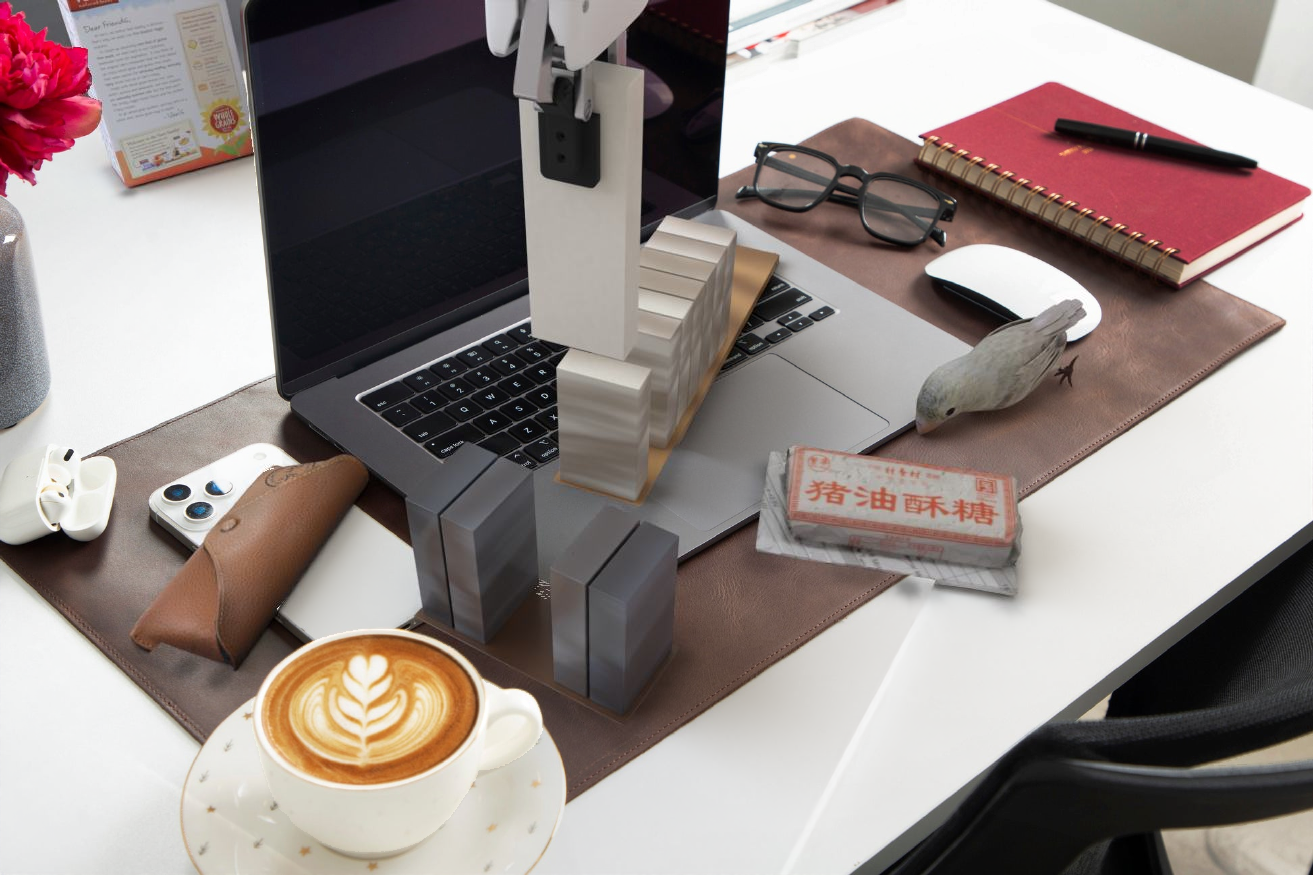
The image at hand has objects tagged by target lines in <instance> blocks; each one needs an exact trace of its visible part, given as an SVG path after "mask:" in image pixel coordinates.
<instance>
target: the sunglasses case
mask: <svg viewBox="0 0 1313 875" xmlns="http://www.w3.org/2000/svg"><path fill="white" fill-rule="evenodd" d="M270 468H274V469H271V470H270ZM267 469H269V470H267ZM267 469H266V470H267V471H265V470H264V471H265V472H264V471H263V472H261V474H260V475H259V476H258V477H256V479H255V480H254V481H253V482H252V484H250V485H249V486H248V488H247V489H245V491H244V492H243V493H242V494H241V496H240V497H239V498H238V499H237V501H235V503H234V504H233V505H232V507H231V508H230V509H229V510H228V511H227V512H226V514H224V515H223V516H222V517H221V518H220V519H219V520H218V521H217V522H216V524H215V525H213V526H212V528H211V529H210V530H209V531H208V532H207V534H206V535H205V537H204V539H203V542H202V543H201V544H200V545H199V546H198V547H197V549H196V550H195V551H194V552H193V554H191V556H190V557H189V558H188V560H187V561H185V563H184V564H183V565H182V566H181V568H180V569H179V570H178V571H177V572H176V573H175V575H174V576H173V577H172V578H171V579H170V581H168V583H167V584H166V585H165V586H164V588H163V589H162V590H161V591H160V592H159V594H158V595H157V596H156V598H155V599H154V600H153V601H152V602H151V603H150V604H149V605H148V607H147V608H146V609H145V611H144V612H143V613H142V615H141V616H140V617H139V618H138V620H136V622H135V624H134V626H133V627H132V629H131V631H130V633H129V636H128V637H129V638H130V640H131V641H132V642H133V644H134V645H135V646H137V647H139V648H141V649H143V650H146V651H148V652H152V651H154V650H155V649H156V648H157V647H158V646H159V645H160V644H161V643H162V644H164V645H168V646H170V647H173V648H175V649H178V650H180V651H185V652H187V653H189V654H192V655H195V656H198V657H201V658H206V659H208V660H211V661H213V662H217V663H219V664H222V665H223V664H224V665H229V666H232V667H233V672H236V671H237V670H239V668H240V666H241V665H242V664H243V662H244V661H245V660H246V659H247V657H249V655H250V654H251V652H252V651H253V649H254V648H255V646H256V644H257V643H258V642H259V640H260V639H261V638H262V636H263V634H264V633H265V631H266V630H267V628H268V627H269V625H270V623H271V621H273V619H274V617H275V616H276V614H277V613H278V611H277V608H278V607H279V606H280V605H281V604H282V602H283V601H284V600H285V601H286V599H287V598H288V596H289V595H290V593H291V592H292V590H293V588H294V587H295V586H296V585H297V583H298V582H299V580H300V579H301V577H302V576H303V574H304V573H305V572H306V571H307V569H308V568H309V567H310V565H311V563H312V562H313V560H314V559H315V558H316V556H317V555H318V553H319V552H320V550H321V549H322V548H323V546H324V545H325V543H326V542H327V541H328V539H329V538H330V537H331V535H332V533H333V532H334V531H335V530H336V528H337V527H338V525H339V524H340V523H341V521H342V520H343V519H344V517H345V515H346V514H347V513H348V511H349V510H350V509H351V507H352V506H353V505H354V504H355V502H356V501H357V500H358V498H359V497H360V495H361V494H362V493H363V491H364V490H365V489H366V487H367V485H368V483H369V480H370V477H369V471H368V470H367V467H366V465H365V464H364V463H363V462H362V461H361V460H360V459H359V458H358V457H356V456H354V455H351V454H347V453H342V454H338V455H335V456H334V457H331V458H329V459H326V460H320V461H315V462H314V461H313V462H307V463H298V464H292V465H291V464H290V465H285V466H282V465H277V464H275V465H274V464H273V465H272V466H269V467H268V468H267ZM286 597H287V598H286ZM285 598H286V599H285ZM285 601H284V602H285ZM282 605H283V604H282Z"/></svg>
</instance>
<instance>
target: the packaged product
mask: <svg viewBox="0 0 1313 875" xmlns="http://www.w3.org/2000/svg"><path fill="white" fill-rule="evenodd" d="M764 480H765V481H764V489H763V493H762V499H761V503H760V510H759V520H758V525H757V533H756V539H755V540H756V541H755V553H756V552H757V553H763V554H768V555H774V556H779V557H785V558H789V559H796V560H803V561H810V562H816V563H822V564H832V565H836V566H844V567H851V568H858V569H865V570H872V571H878V572H883V573H887V574H895V575H903V576H913V577H915V578H923V579H932V580H935V581H934V582H933V585H941V586H951V587H958V588H966V589H971V590H978V591H984V592H990V593H995V594H1001V595H1007V596H1015V595H1016V594H1017V593H1018V584H1017V582H1018V581H1017V580H1018V579H1017V567H1016V566H1017V564H1016V563H1017V561H1018V559H1019V558H1020V556H1021V554H1022V542H1021V539H1022V534H1023V531H1024V527H1023V523H1022V517H1021V514H1020V513H1019V506H1018V503H1019V496H1020V495H1019V492H1018V488H1019V480H1018V478H1017V477H1015V476H1011V475H1010V476H1007V475H1003V474H997V473H989V472H985V471H979V470H977V471H976V470H972V469H964V468H957V467H950V466H942V465H936V464H930V463H923V462H918V461H910V460H909V461H908V460H901V459H898V458H886V457H881V456H873V455H862V454H859V453H850V452H843V451H838V450H829V449H828V450H827V449H823V448H819V447H809V446H805V445H801V446H800V445H793V446H789V447H787V451H786V453H785V452H780V451H776V450H772V451H769V457H768V461H767V465H766V470H765V479H764Z"/></svg>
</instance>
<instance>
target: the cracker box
mask: <svg viewBox="0 0 1313 875" xmlns="http://www.w3.org/2000/svg"><path fill="white" fill-rule="evenodd" d="M56 1H57V3H58V8H59V9H60V13H61V16H62V19H63V22H64V25H65V29H66V31H67V34H68V38H69V40H70V43H71V48H73V47H81V48H86V49H88V68H89V70H90V73H91V75H92V85H91V86H90V89H89V90H88V92H87V95H88V97H89V96H90V97H91V98H94V99H96V100H99V101H100V102H102V120H101V123H100V125H99V126H98V129H99V132H100V135H101V138H102V142H103V144H104V147H105V150H106V152H107V156H108V159H109V162H110V165H111V167H112V168H113V170H114V171H115V172H116V173H117V175H118V177H119V178H120V179H121V180H122V181H123V183H124V184H125V186H126V188H132V187H135V186H138V185H142V184H146V183H149V182H152V181H157V180H161V179H164V178H168V177H171V176H175V175H179V174H183V173H186V172H190V171H193V170H197V169H200V168H201V169H202V168H204V167H208V166H212V165H216V164H219V163H222V162H226V161H230V160H235V159H236V158H241V157H245V156H248V155H252V154H254V153H253V147H252V139H251V129H250V122H249V110H248V106H247V95H248V92H246V91H247V87H246V83H245V78H244V74H243V70H242V65H241V61H240V57H239V53H238V48H237V43H236V40H235V34H234V31H233V27H232V22H231V16H230V13H229V9H228V5H227V4H228V3H227V1H226V0H56Z"/></svg>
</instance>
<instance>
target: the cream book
mask: <svg viewBox="0 0 1313 875" xmlns="http://www.w3.org/2000/svg"><path fill="white" fill-rule="evenodd" d="M552 75H556V76H560V77H566V78H568V79H569V80H570V82H571V83H572V84H573V85H574V72H573V71H568V70H563V69H558V68H552ZM644 92H645V70H644V69H640V68H636V67H631V66H627V65H626V66H621V65H616V64H611V63H606V62H601V61H595V60H593V111H592V112H593V113H598V114H600V181H599V183H598V184H597V185H596V186H595V187H594V188H586V187H582V186H577V185H573V184H569V183H564V182H560V181H555V180H551V179H547V178H545V177H543V176H542V174H541V172H540V154H539V130H538V111H535V110H534V108H533V101H529V100H524V99H520V98H518V105H519V121H520V122H519V125H520V144H521V145H520V146H521V161H522V163H521V164H522V178H523V179H522V181H523V198H524V215H525V216H524V218H525V235H526V254H527V272H528V273H527V274H528V275H527V276H528V290H529V291H528V292H529V308H530V309H529V311H530V328H531V330H530V331H531V337H532V338H534V339H538V340H543V341H545V342H551V343H554V344H558V345H562V346H566V347H569V348H573V349H577V350H581V351H585V352H588V353H595V354H599V355H603V356H607V357H611V358H614V359H618V360H622V361H624V360H625V359H626V357H627V356H628V354H629V353H630V351H631V350H632V348H633V347H634V345H635V343H636V342H637V340H638V303H639V262H640V252H641V218H642V216H641V214H642V174H643V173H642V172H643V170H642V169H643V139H644V137H643V136H644V135H643V134H644V97H645V94H644Z"/></svg>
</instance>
